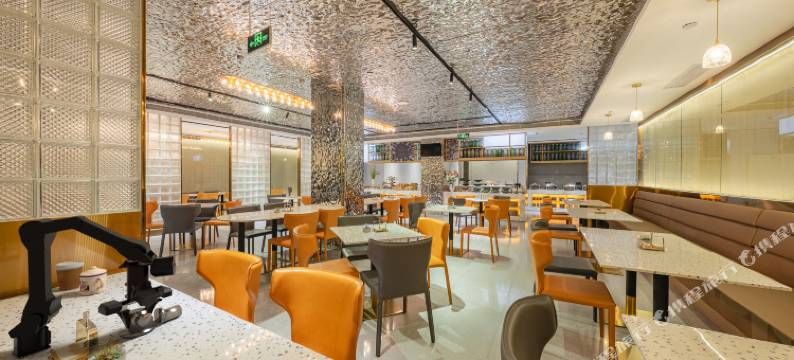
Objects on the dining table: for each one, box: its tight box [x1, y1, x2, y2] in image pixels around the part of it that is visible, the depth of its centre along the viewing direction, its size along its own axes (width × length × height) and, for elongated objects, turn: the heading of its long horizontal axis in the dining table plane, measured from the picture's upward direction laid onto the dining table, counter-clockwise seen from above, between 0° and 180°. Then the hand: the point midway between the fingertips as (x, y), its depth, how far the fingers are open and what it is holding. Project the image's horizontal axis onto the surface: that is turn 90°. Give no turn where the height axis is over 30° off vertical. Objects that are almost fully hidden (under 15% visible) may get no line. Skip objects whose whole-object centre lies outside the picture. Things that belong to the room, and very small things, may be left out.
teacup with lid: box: [79, 265, 108, 296], centre depth 136 cm, size 12×9×12 cm
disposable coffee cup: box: [54, 260, 85, 292], centre depth 141 cm, size 10×10×12 cm
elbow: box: [128, 306, 154, 332], centre depth 101 cm, size 9×5×6 cm, turn 65°
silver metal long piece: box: [119, 304, 183, 340], centre depth 106 cm, size 17×9×6 cm, turn 155°
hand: (137, 324), depth 102 cm, fingers closed on elbow, 5 cm apart
